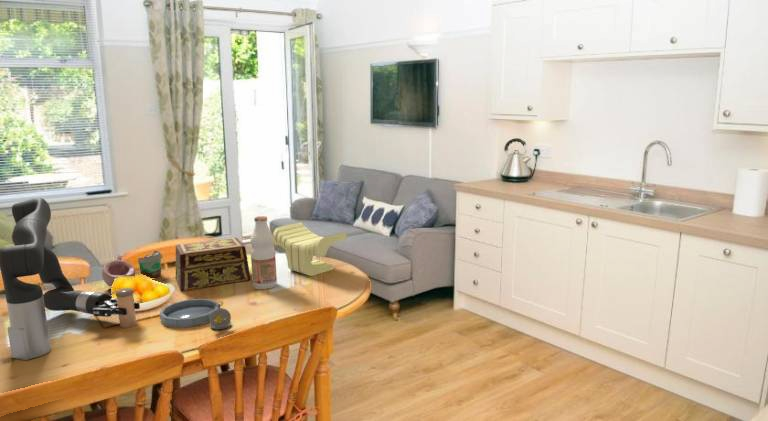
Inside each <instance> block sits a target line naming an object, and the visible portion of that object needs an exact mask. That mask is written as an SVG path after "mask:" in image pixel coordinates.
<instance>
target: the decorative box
mask: <svg viewBox="0 0 768 421" xmlns="http://www.w3.org/2000/svg"><path fill="white" fill-rule="evenodd" d="M175 280H176V281H175V282H177V285H178V288H179V291H180V292H188V291H195V290H201V289H202V290H203V289H207V288H213V287H219V286H221V287H222V286H227V285H235V284H239V283H245V282H246V283H247V282H251V281H252V280H251V273H250V268H249V261H248V256H247V249H246V246H245V244H243V243H242V241H241V240H240V239H239V238H238V237H230V238H229V237H228V238H221V239H213V240H205V241H197V242H190V243H189V242H188V243H187V242H186V243H179V244H175Z"/></svg>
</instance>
